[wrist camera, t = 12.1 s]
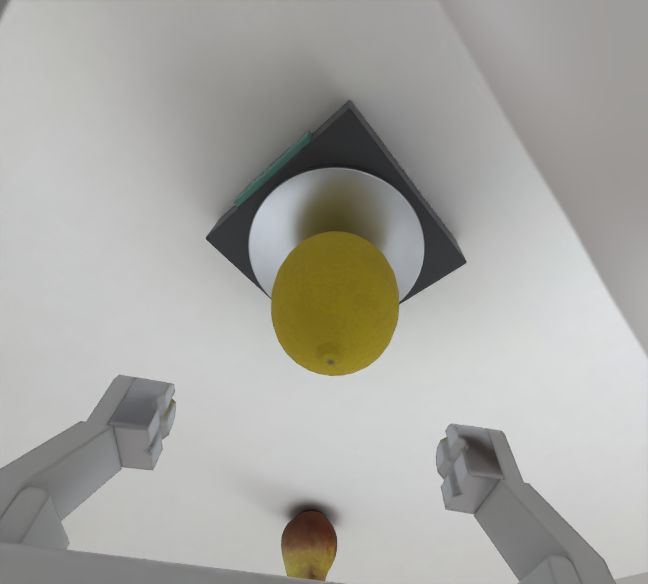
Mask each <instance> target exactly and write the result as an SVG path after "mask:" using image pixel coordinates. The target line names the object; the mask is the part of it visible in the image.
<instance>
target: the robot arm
mask: <svg viewBox="0 0 648 584" xmlns="http://www.w3.org/2000/svg"><path fill="white" fill-rule="evenodd" d="M174 393H175V389H174V384H172V383H166V382H161V381H155V380H149V379H143V378H137V377H131V376H124V375H119V376H117V377H116V378H115V379H114V380H113V382H112V383H111V385H110V386H109V388H108V389H107V391H106V392H105V394H104V395H103V397H102V398H101V400H100V401H99V403H98V404H97V406H96V407H95V409H94V410H93V412H92V413H91V415H90V417H89V418H88V420H87V421H86V422H83V421H80V422H78V423H77V424H75V425H73V426H72V427H70V428H68V429H67V430H65V431H63V432H62V433H60V434H58V435H57V436H55V437H53V438H51V439H50V440H48V441H46V442H45V443H43V444H41V445H40V446H38V447H36V448H35V449H33V450H31V451H30V452H28V453H26V454H25V455H23V456H21V457H20V458H18V459H16V460H15V461H13V462H11V463H10V464H8V465H6V466H5V467H3V468H1V469H0V584H344V583H336V582H328V581H320V580H312V579H303V578H295V577H287V576H279V575H271V574H263V573H254V572H246V571H238V570H230V569H222V568H213V567H205V566H197V565H189V564H181V563H172V562H164V561H156V560H148V559H139V558H131V557H123V556H115V555H107V554H98V553H90V552H82V551H74V550H66V549H67V547H68V546H69V544H70V543H69V540H68V537H67V534H66V532H65V530H64V527H63V525H62V523H61V521H62V520H63V519H64V518H65V517H66V516H67V515H69V514H70V513H71V512H72V511H73V510H74V509H76V508H77V507H78V506H79V505H80V504H81V503H83V502H84V501H85V500H86V499H87V498H88V497H90V496H91V495H92V494H93V493H94V492H95V491H97V490H98V489H99V488H100V487H101V486H102V485H104V484H105V483H106V482H107V481H108V480H109V479H111V478H112V477H113V476H114V475H115V474H116V473H118V472H119V471H120V470H121V469H122V468H121V467H126V468H136V469H145V470H154V467H155V465H156V463H157V460H158V458H159V456H160V454H161V451H162V449H163V448H162V439H164V438H165V437H166V436H168V435H169V433H170V430H171V428H172V425H173V421H174V418H175V411H176V402H175V401H174V400H173V399H172V397H173V395H174ZM446 435H447V437H446V438H444V439H442V440H440V442H439V445H438V447H437V452H436V465H437V471H438V473H439V474H440V475H441V477H442V478H443V479H444V482H443V484H442V486H441V490H442V495H443V500H444V504H445V509H446V510H452V511H458V512H464V513H470V514H475V515H474V517H475V518H476V519H477V521H478V522H479V524H480V525H481V527H482V528H483V530H484V531H485V532H486V534H487V535H488V537H489V538H490V540H491V541H492V542H493V544H494V545H495V547H496V548H497V550H498V551H499V553H500V554H501V555H502V557H503V558H504V560H505V561H506V563H507V564H508V565H509V567H510V568H511V570H512V571H513V573H514V574H515V576H516V577H517V578H518V580H519V581H520V582H519V583H518V584H616V583H615V581H614V579H613V577H612V575H611V573H610V571H609V569H608V567H607V564H606V562H605V560H604V559H603V558H602V557H601V556H600V555H599V554H598V553H597V552H596V551H595V550H594V549H593V548H592V547H591V546H590V545H589V544H588V543H587V542H586V541H585V540H584V539H583V538H582V537H581V536H580V535H579V534H578V533H577V532H576V531H575V530H574V529H573V528H572V527H571V526H570V525H569V524H568V523H567V522H566V521H565V520H564V519H563V518H562V517H561V516H560V515H559V514H558V512H557V511H556V510H555V509H554V508H553V507H552V506H551V505H550V504H549V503H548V502H547V501H546V500H545V499H544V498H543V497H542V496H541V495H540V494H539V493H538V492H537V491H536V490H535V489H534V488H533V487H532V486H531V485H530V484H529V483H524V482H523V479H522V477H521V474H520V472H519V469H518V466H517V464H516V461H515V459H514V456H513V454H512V451H511V449H510V446H509V444H508V441H507V439H506V436H505V434H504V433H503V432H502V431H500V430H493V429H486V428H482V427H474V426H467V425H459V424H450V425H449V426H448V427H447V429H446Z"/></svg>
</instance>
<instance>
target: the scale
mask: <svg viewBox="0 0 648 584" xmlns="http://www.w3.org/2000/svg"><path fill="white" fill-rule="evenodd" d="M330 164H335V165H349V166H356V167H359V168H363V169H366V170H369V171H371V172H374V173H376V174H378V175H380V176H382V177H383V178H385V179H387V180H388V181H390V182H391V183H392V184H394V185H395V186H396V187H397V188H398V189H400V191H401V192H402V193H403V194H404V195H405V196H406V197H407V198H408V200H409V201H410V203H411V204H412V206H413V207H414V209H415V211H416V214H417V216H418V218H419V221H420V224H421V227H422V231H423V236H424V259H423V264H422V267H421V271H420V274H419V276H418V278H417V280H416V282H415V284H414V285H413V287H412V288H411V290H410V291H409V292H408V294H407V295H406V296H405V297H404V298H403V299H402V300H401V301H400V302H399V304H401V303H402V302H404V301H406V300H407V299H409V298H410V297H412V296H414V295H415V294H417V293H418V292H420V291H422V290H423V289H425V288H427V287H428V286H430V285H431V284H433V283H435V282H436V281H438V280H440V279H441V278H443V277H444V276H446V275H448V274H449V273H451V272H452V271H454V270H456V269H457V268H459V267H461V266H462V265H464V264H465V263H466V260H465V258H464V256H463V254H462V252H461V250H460V248H459V246H458V244H457V241H456V240H455V239H454V237H453V236H452V235H451V233H450V232H449V231H448V229H447V228H446V227H445V225H444V224H443V223H442V221H441V220H440V219H439V217H438V216H437V215H436V213H435V212H434V211H433V209H432V208H431V207H430V205H429V204H428V203H427V201H426V200H425V199H424V197H423V196H422V195H421V193H420V192H419V191H418V189H417V188H416V187H415V186H414V184H413V183H412V182H411V180H410V179H409V178H408V176H407V175H406V174H405V172H404V171H403V170H402V168H401V167H400V166H399V164H398V163H397V162H396V160H395V159H394V158H393V156H392V155H391V154H390V152H389V151H388V150H387V148H386V147H385V146H384V144H383V143H382V142H381V140H380V139H379V138H378V136H377V135H376V134H375V132H374V131H373V130H372V128H371V127H370V126H369V124H368V123H367V122H366V120H365V119H364V118H363V116H362V115H361V114H360V112H359V111H358V110H357V108H356V107H355V106H354V104H353V103H352V102H351V101H350V100H349V101H348V102H347V103H346V104H344V105H343V106H342V107H341V108H340V109H339V110H338V111H337V112H336V113H335V114H334V115H333V116H331V117H330V118H329V119H328V120H327V121H326V122H325V123H324V124H323V125H322V126H321V127H319V128H318V129H317V130H316V131H315V132H314V133H313V134H311V132H310V131H308V132H306V133H305V134H304V135H303V136H302V137H301V138H300V139H299V140H298V141H297V142H296V143H295V144H294V145H292V146H291V147H290V148H289V149H288V150H287V151H286V152H285V153H284V154H283V155H282V156H281V157H279V158H278V159H277V160H276V161H275V162H274V163H273V164H272V165H271V166H270V167H269V168H268V169H267V170H265V171H264V172H263V173H262V174H261V175H260V176H259V177H258V178H257V179H256V180H255V181H254V182H253V183H251V184H250V185H249V186H248V187H247V188H246V189H245V190H244V191H243V192H242V193H241V194H240V195H239V196H238V198H237V199H236V200H235V202H234V204H235V205H234V206H233V207H232V208H231V209H230V210H229V211H228V212H227V213H226V214H225V215H224V216H222V217H221V218H220V219H219V220H218V222H217V223H216V225H215V226H214V227H213V229H212V230H211V232H210V233H209V234H208V236H207V237H206V240H207V241H209V242H210V243H211V244H212V245H213V246H214V247H215V248H216V249H217V250H218V251H219V252H220V253H222V254H223V255H224V256H225V257H226V258H227V259H228V260H229V261H230V262H231V263H232V264H234V265H235V266H236V267H237V268H238V269H239V270H240V271H241V272H242V273H243V274H244V275H245V276H247V277H248V278H249V279H250V280H251V281H252V282H253V283H254V284H255V285H256V286H257V287H259V288H260V289H261V290H262V291H263V292H264V293H265V294H266V295H267V293H266V292H265V291H264V289H263V288H262V287H261V285H260V284H259V282H258V280H257V278H256V276H255V274H254V272H253V269H252V266H251V262H250V258H249V250H248V240H249V232H250V227H251V224H252V221H253V218H254V216H255V214H256V212H257V210H258V208H259V206H260V204H261V203H262V201H263V200H264V199H265V197H266V196H267V195H268V194H269V193H270V192H271V190H272V189H273V188H274V187H275V186H277V185H278V184H279V183H281V182H282V181H283V180H284V179H286V178H288V177H290V176H291V175H293V174H295V173H297V172H300V171H302V170H305V169H308V168H312V167H316V166H321V165H330ZM267 296H268V295H267ZM268 297H269V296H268ZM269 298H270V297H269ZM270 299H271V298H270Z"/></svg>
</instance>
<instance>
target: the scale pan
mask: <svg viewBox="0 0 648 584" xmlns="http://www.w3.org/2000/svg"><path fill="white" fill-rule="evenodd" d="M330 231H340V232H348V233H352V234H355V235H358V236H360V237H362V238H364V239H366V240H367V241H369V242H371V243H372V244H373V245H375V246H376V247H377V248H378V249H379V250H380V251H381V252H382V253H383V254H384V256H385V257H386V259H387V261H388V262H389V264H390V266H391V268H392V269H393V271H394V274H395V278H396V282H397V286H398V290H399V302H400V301H401V300H402V299H403V298H404V297H405V296H406V295H407V294H408V292H409V291H410V290H411V288H412V287H413V285H414V284H415V282H416V280H417V278H418V276H419V274H420V271H421V267H422V264H423V259H424V236H423V231H422V227H421V224H420V221H419V218H418V216H417V214H416V211H415V209H414V207H413V206H412V204H411V203H410V201H409V200H408V198H407V197H406V196H405V195H404V194H403V193H402V192H401V191H400V189H398V188H397V187H396V186H395V185H394V184H392V183H391V182H390V181H388V180H387V179H385V178H383V177H382V176H380V175H378V174H376V173H374V172H371V171H369V170H366V169H363V168H359V167H356V166H349V165H335V164H330V165H321V166H316V167H312V168H308V169H305V170H302V171H300V172H297V173H295V174H293V175H291V176H290V177H288V178H286V179H284V180H283V181H282V182H281V183H279V184H278V185H277V186H275V187H274V188H273V189H272V190H271V192H270V193H269V194H268V195H267V196H266V197H265V199H264V200H263V201H262V203H261V204H260V206H259V208H258V210H257V212H256V214H255V216H254V218H253V221H252V224H251V227H250V232H249V240H248V250H249V258H250V262H251V266H252V269H253V272H254V274H255V276H256V278H257V280H258V282H259V284H260V285H261V287H262V288H263V289H264V291H265V292H266V293H267V295H268V296H269V297H270V298H271V296H272V289H273V285H274V282H275V279H276V276H277V273H278V270H279V268H280V266H281V264H282V263H283V262H284V260H285V259H286V257H287V256H288V254H289V253H290V252H291V251H292V250H293V249H294V248H295V247H296V246H298V245H299V244H300V243H301V242H302V241H304V240H306V239H308V238H310V237H312V236H314V235H317V234H320V233H325V232H330Z"/></svg>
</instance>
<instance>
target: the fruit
mask: <svg viewBox="0 0 648 584" xmlns="http://www.w3.org/2000/svg"><path fill="white" fill-rule="evenodd" d="M281 548H282V556H283V560H284V565H285V569H286V573H287V577H295V578H303V579H312V580H320V581H325V579H326V576H327V573H328V571H329V569H330V567H331V566H332V564H333V561H334V559H335V556H336V551H337V536H336V532H335V530H334V528H333V526H332V524H331V523H330V521H329V520H328V518H327V517H326V516H325V515H323V514H322V513H320V512H317V511H308V512H304V513H301V514H299V515H297V516H296V517H294V518H293V519H292V520H291V521H290V522H289V523H288V524H287V526H286V527H285V529H284V531H283V534H282V540H281Z"/></svg>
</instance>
